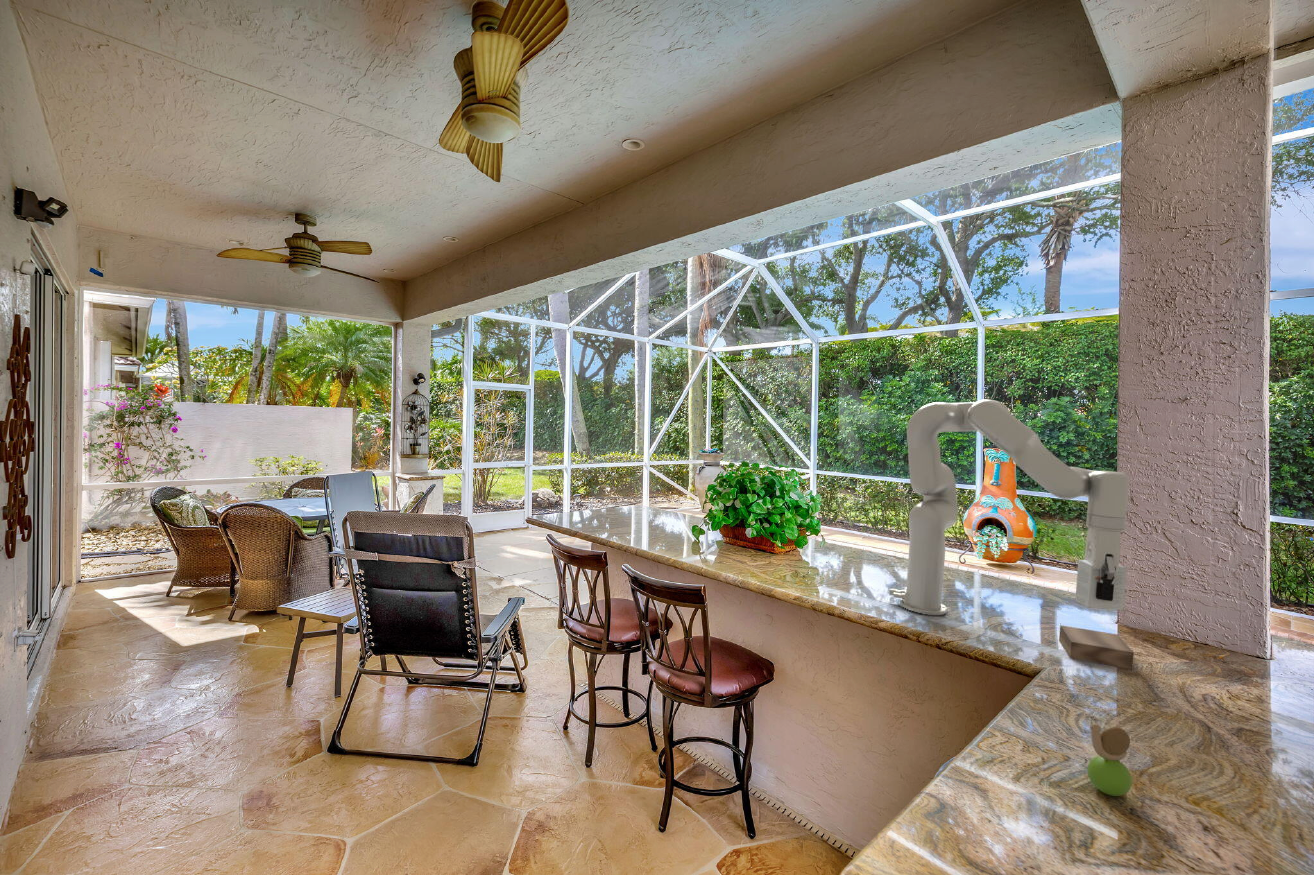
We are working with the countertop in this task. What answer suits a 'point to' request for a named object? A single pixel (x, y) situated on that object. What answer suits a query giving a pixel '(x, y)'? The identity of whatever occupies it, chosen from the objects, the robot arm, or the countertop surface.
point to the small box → (1088, 586)
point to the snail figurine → (1109, 760)
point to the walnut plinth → (1096, 647)
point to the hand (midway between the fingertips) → (1099, 594)
